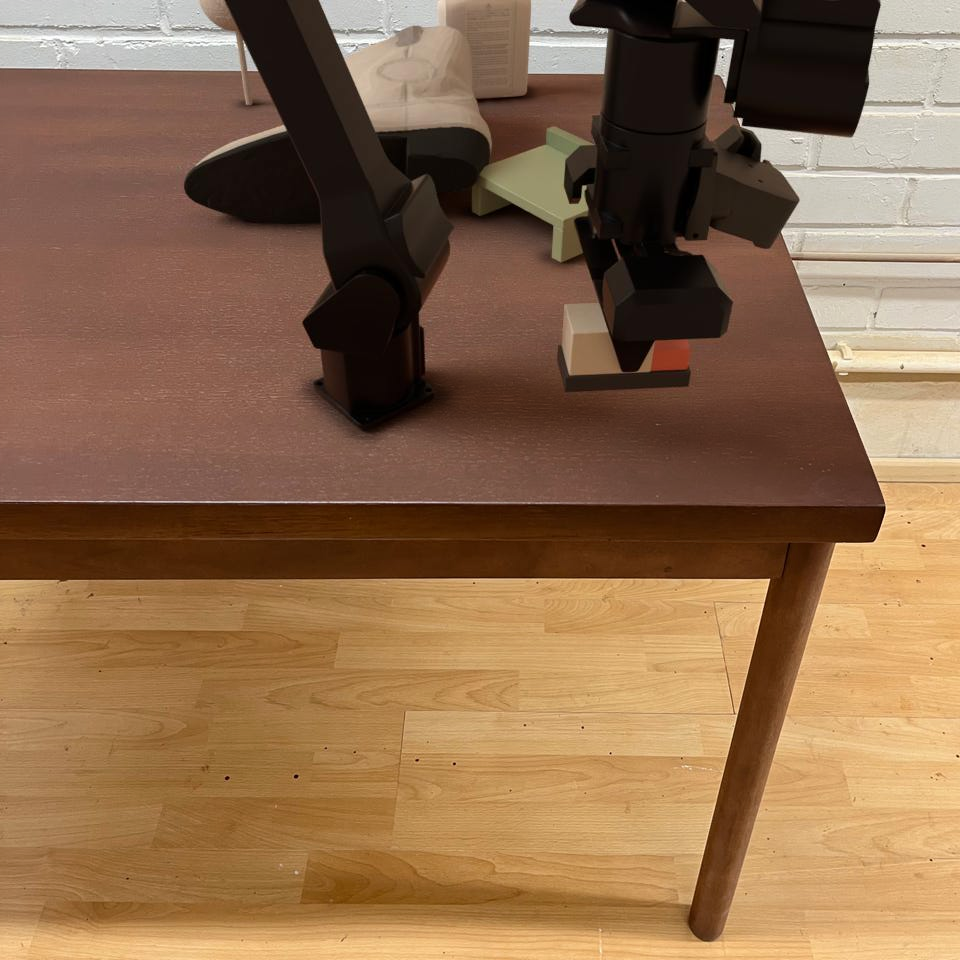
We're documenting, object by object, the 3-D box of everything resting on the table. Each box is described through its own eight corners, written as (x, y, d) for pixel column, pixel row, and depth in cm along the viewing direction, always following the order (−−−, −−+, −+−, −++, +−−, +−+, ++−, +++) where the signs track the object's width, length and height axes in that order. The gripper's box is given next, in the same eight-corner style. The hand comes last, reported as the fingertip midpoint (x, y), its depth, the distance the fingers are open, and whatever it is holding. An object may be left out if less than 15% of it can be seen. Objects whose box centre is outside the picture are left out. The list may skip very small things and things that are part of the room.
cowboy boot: (497, 133, 85) (484, 9, 102) (167, 132, 84) (209, 6, 100) (493, 229, 92) (481, 98, 109) (189, 230, 90) (225, 97, 107)
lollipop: (258, 86, 115) (238, -58, 105) (294, 105, 111) (277, -44, 101) (204, 102, 111) (177, -46, 101) (239, 122, 107) (215, -30, 97)
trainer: (564, 392, 64) (569, 334, 61) (556, 359, 66) (560, 302, 64) (688, 387, 64) (699, 328, 61) (675, 354, 67) (685, 297, 64)
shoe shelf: (560, 263, 86) (564, 203, 82) (471, 211, 93) (471, 154, 89) (641, 227, 91) (649, 169, 87) (551, 181, 97) (554, 125, 94)
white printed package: (522, 84, 116) (527, -32, 108) (531, 98, 113) (536, -21, 105) (434, 90, 114) (432, -28, 106) (441, 104, 111) (439, -15, 103)
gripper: (863, 187, 48) (792, 440, 58) (751, 49, 61) (710, 274, 72) (631, 194, 47) (601, 450, 57) (570, 53, 61) (555, 280, 71)
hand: (623, 353), depth 64 cm, fingers closed on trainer, 3 cm apart
